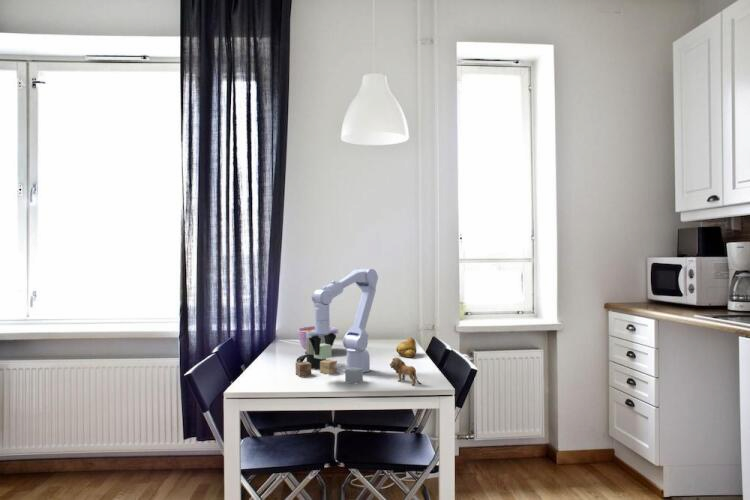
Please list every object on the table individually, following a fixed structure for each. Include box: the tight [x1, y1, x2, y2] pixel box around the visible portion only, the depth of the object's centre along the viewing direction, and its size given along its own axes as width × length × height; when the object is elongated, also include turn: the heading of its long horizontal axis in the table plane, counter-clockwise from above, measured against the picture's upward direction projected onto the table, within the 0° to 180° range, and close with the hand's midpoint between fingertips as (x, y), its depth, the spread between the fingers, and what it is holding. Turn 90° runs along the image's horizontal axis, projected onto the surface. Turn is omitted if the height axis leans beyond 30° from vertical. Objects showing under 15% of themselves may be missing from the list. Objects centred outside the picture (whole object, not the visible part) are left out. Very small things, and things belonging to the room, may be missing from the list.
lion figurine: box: [389, 357, 422, 387], centre depth 202 cm, size 15×5×9 cm, turn 48°
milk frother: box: [295, 335, 327, 370], centre depth 234 cm, size 14×16×15 cm
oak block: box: [319, 358, 338, 375], centre depth 220 cm, size 5×5×5 cm
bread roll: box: [395, 337, 417, 358], centre depth 252 cm, size 13×10×8 cm
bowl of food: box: [297, 325, 338, 351], centre depth 264 cm, size 20×20×12 cm
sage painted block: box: [314, 343, 333, 360], centre depth 208 cm, size 5×5×5 cm
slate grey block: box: [344, 367, 364, 384], centre depth 204 cm, size 5×5×5 cm
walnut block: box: [295, 360, 312, 378], centre depth 216 cm, size 5×5×5 cm
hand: (322, 353), depth 208 cm, fingers closed on sage painted block, 5 cm apart
